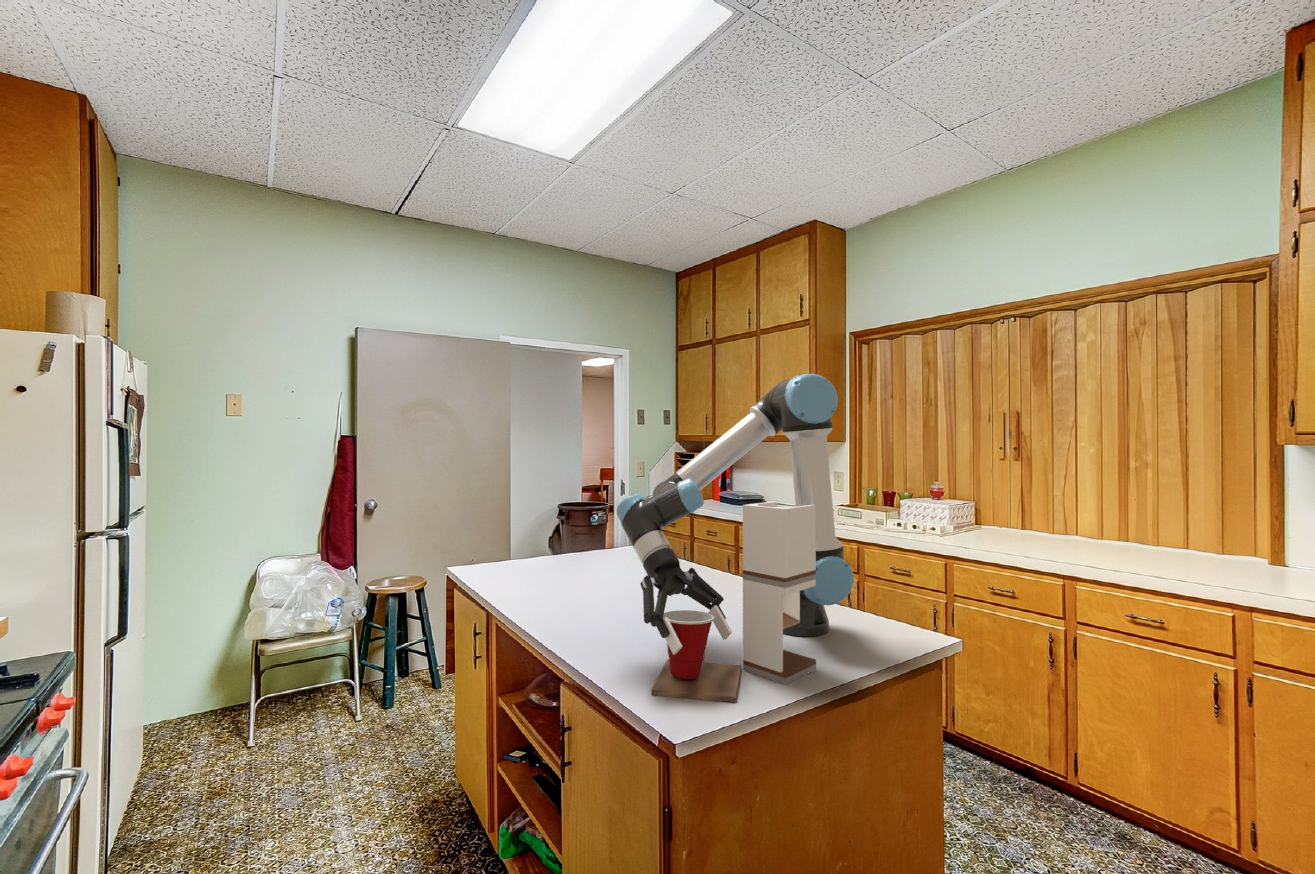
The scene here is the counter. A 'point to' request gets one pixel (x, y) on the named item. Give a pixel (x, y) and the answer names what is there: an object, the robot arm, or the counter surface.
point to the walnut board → (701, 683)
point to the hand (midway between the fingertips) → (703, 643)
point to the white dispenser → (776, 585)
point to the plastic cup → (689, 641)
